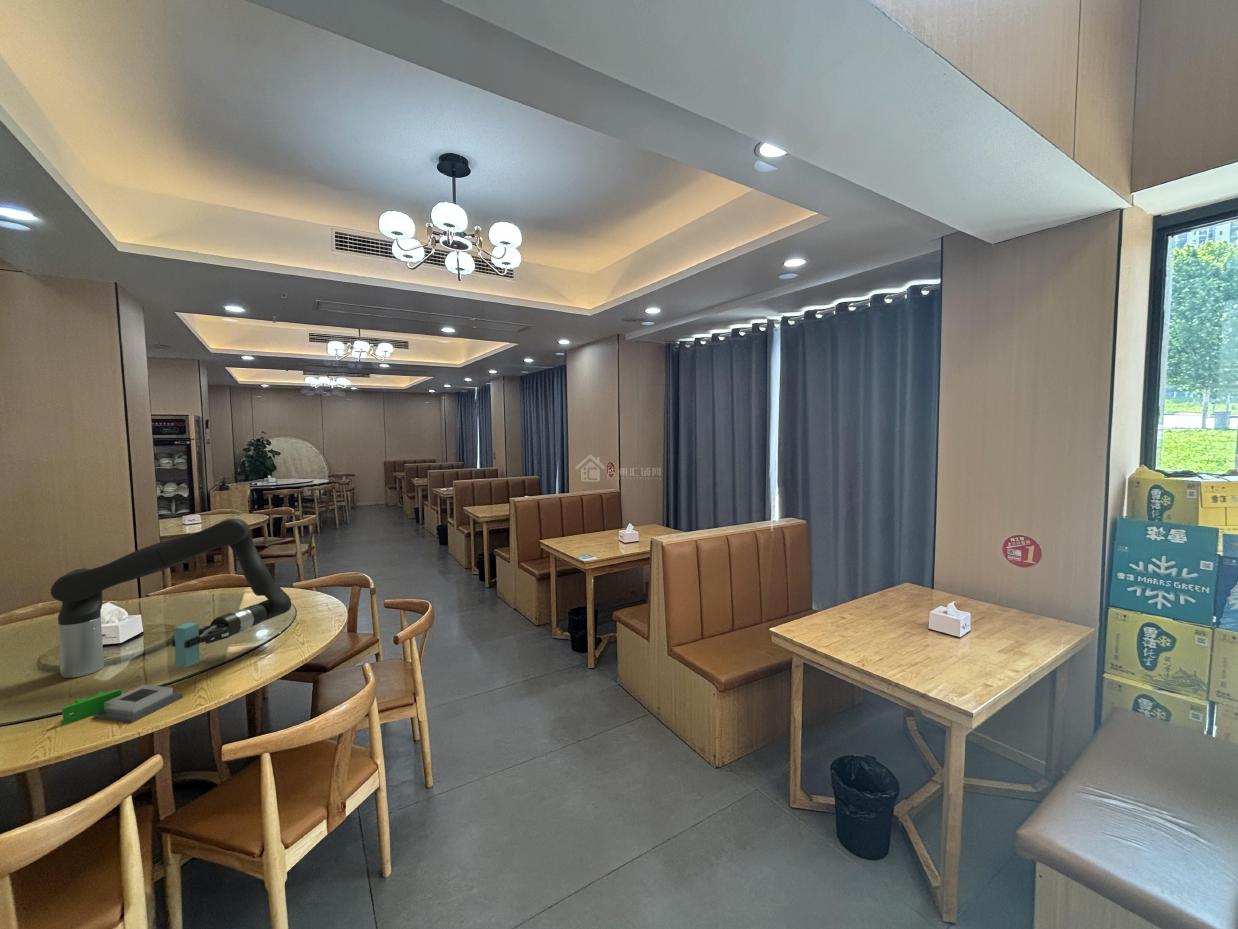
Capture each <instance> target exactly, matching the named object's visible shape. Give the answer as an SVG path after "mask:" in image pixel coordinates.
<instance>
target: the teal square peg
mask: <svg viewBox="0 0 1238 929" xmlns="http://www.w3.org/2000/svg"><path fill="white" fill-rule="evenodd" d="M199 626H200V624H199V623H197V622H195V623H194V622H185V623H182V624H181V625H178V626H174V627H173V629H174V630H173V632H174V638H173V639H175V647H174V658H175V659H174V661H175V666H176V667H180V668H181V667H183V668H187V667H191V666H192V665H194V664H197V663H199V662H201V661H200V660H201V659H200V644H197V645H194V646H192V647H189V648H184V642H185V641H187V640H190V639H192V638H195V637H199V628H200V627H199Z"/></svg>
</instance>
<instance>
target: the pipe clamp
mask: <svg viewBox="0 0 1238 929" xmlns="http://www.w3.org/2000/svg"><path fill="white" fill-rule="evenodd" d="M120 695H122V689H120V688H119V689H116V690H115V689H114V690H112V691H108V692H106V693H105V692H104V691H98V693H97V694H95V695H93V696H91V697H86V698H76V699H75V703H73V704H72V703H71V704H69V705H66V706H64V707H63V706H62V707H61V709H62V723H63V725H66V724H70V723H73V722H75V721H79V720H82V719H84V718H88V717H90V716H93V714H94V713H97V712H99V711H101V710H103V709H104V702H107V701H109V700H111V699H113V698H116V697H118V696H120ZM71 713H72V714H71Z"/></svg>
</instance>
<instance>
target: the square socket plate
mask: <svg viewBox="0 0 1238 929" xmlns="http://www.w3.org/2000/svg"><path fill="white" fill-rule="evenodd" d="M173 690H174V689H173V687H168V686H167V687H166V686H161V685H159V686H158V685H154V684H153V685H151V684H143V685H141V686H138V687H136V688H134V689H132V690H129V691H127V692H124V693H121V695H120V696H118V697H116V698H113V699H111V700H109V701H107V702H104V709H103V710H101V711H99V712H97V713H94V714H93V715H92V716H93V717H92V718H94V719H101V720H109V721H116V722H123V723H130V724H133V723H135V722H137V721H139V720H140V719H142V718H145V717H146V716H148V715H150V714H153V713H154V712H156V711H159V710H160V709H163V708H164V707H166V706H168V705H170V704H172V703H174V702H176V701H178V700H180V699H182V698H183V696H184V695H183V693H178V692H177V693H176V692H174V691H173Z"/></svg>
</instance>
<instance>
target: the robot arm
mask: <svg viewBox="0 0 1238 929" xmlns="http://www.w3.org/2000/svg"><path fill="white" fill-rule="evenodd" d="M227 546H229V548H230V549H231V550H232V551H233V553H234V554H235V555H236V557H237V560H238V562H239V564H240V567H241V570H242V573H243V576H244V579H245V580H246V583H247V584H248V585H249V587H250V589H251V591H252V593H253V594H254V595H255V596H256V597H262V596H263V597H265V598H266V600H263V601H261V602H257V603H256V604H251V605H249V606H246V607H244V608H241V609H236V610H233V611H231V612H230V611H229V612H228V613H225V614H222V615H219V616H217V617H214V619H213V620H212V621H211V622H210V624H206V625H203V626H202V627H199V637H195V638H192V639H190V640H187V641H185V642H184V648H189V647H192V646H194V645H197V644H199V645H202V644H204V643H205V644H207V645H208V644H211V643H215V642H218V641H222V640H225V639H229V638H230V637H232V636H235V635H237V634H239V633H242V632H244V631H246V630H247V629H249V628H252V627H254V626H256V625H259V624H261V623H263V622H264V621H267V620H270V619H274V618H275V617H279V616H281V615H283V614H286V613H287V612H288V611H290V609H291V607H292V599H291V598H290V596H289V595H288V593H287V592H286V591H285V590H284V589H282V588H281V587H280V585H278V584H277V583H276V582H275V580H274V578H273V577H272V575H271V572H270V571H269V570H268V568H267V566H266V564H265V562H264V561H263V559H262V557H261V556H260V554H259V552H258V550H257V547H256V545H255V543H254V540H253V538H252V534H251V530H250V527H249V524H248V523H247V522H246V521H245V520H242V519H240V518H227V519H224V520H222V521H220V522H217V523H215V524H213V525H211V526H209V527H207V528H205V529H202V530H199V531H197V532H194V533H192V534H186V535H182V536H178V537H174V538H171V539H165V540H163V541H160V542H157V543H155V544H151V545H148V546H145V547H142V548H140V549H137V550H134V551H133V552H131V553H128V554H126V555H124V556H122V557H120V558H118V559H116V560H113V561H111V562H109V563H106V564H104V565H101V566H97V567H95V568H94V567H93V568H78V569H74V570H71V571H69V572H67V573H66V574H64V575H62V576H60V577H59V578H57V579H56V580H55V582H54V583H53V584H52V586H51V588H50V595H51V597H52V598H53V599H54V600H56V601H57V602H61V608H60V611H59V613H58V615H57V621H58V622H57V625H58V633H59V634H58V637H59V645H58V661H59V673H60V675H61V677H62V678H63V679H64V678H66V679H72V678H78V677H83V676H87V675H90V674H93V673H96V672H98V671H100V670H101V669H103V668H104V666H105V665H104V648H103V630H102V616H101V615H102V613H101V612H102V608H103V607H102V606H103V591H105V590H107V589H109V588H112V587H115V586H116V585H119V584H124V583H127V582H130V581H134V580H138V579H140V578H143V577H147V576H150V575H152V574H156V573H160V572H161V571H165V570H167V569H170V568H172V567H176V566H177V565H180V564H182V563H185V562H186V561H189V560H190V559H193V558H195V557H197V556H198V555H201V554H203V553H206V552H210V551H212V550H216V549H219V548H223V547H227ZM171 647H173V648H175V638H173V639H171Z"/></svg>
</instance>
